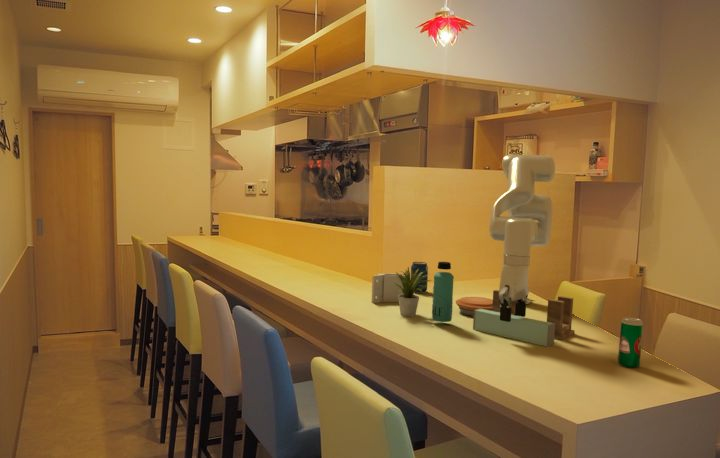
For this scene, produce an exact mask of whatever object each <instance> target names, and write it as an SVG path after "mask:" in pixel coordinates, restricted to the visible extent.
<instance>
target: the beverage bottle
mask: <svg viewBox="0 0 720 458" xmlns="http://www.w3.org/2000/svg"><path fill="white" fill-rule="evenodd" d="M451 265H452V264H451V262H450V261H438V263H437V269H439V270H451V269H452V266H451ZM432 289H433V290H432V305H431V318H432V320H433V321H435V322H441V323H445V322H446V323H449V322H452V318H453V305H454V304H453V295H454V275H453V274H452V272H448V271H437V272H436V273H435V274H434V275H433V286H432Z"/></svg>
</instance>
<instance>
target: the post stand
mask: <svg viewBox="0 0 720 458" xmlns="http://www.w3.org/2000/svg"><path fill="white" fill-rule="evenodd" d="M492 300H493V305H492V311H494V312H499V313H500V302H499V300H500V299H499V289H494V290H493V291H492ZM507 302H509V301H507ZM516 302H517V300H516V301H513V302H512V304H511V307H510V308H512V309H511V315H514V316H516V315H515V303H516ZM573 306H574V297H568V296H563V295H559V296H557V299H552V298H551V299H548V300H547V312H546V313H547V314H546V322H549V323H554V324H555V331H554V340H555V339H557V340H561V341H562V340H565V339H566V338H569V337H570V336H573V335H575V331H576V330H573V329H572V325H573V324H572V321H573V308H574V307H573Z"/></svg>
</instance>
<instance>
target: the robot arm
mask: <svg viewBox="0 0 720 458" xmlns="http://www.w3.org/2000/svg"><path fill="white" fill-rule="evenodd" d="M501 167H502V171H503V173H504V175H505V177H506V179H507V187H506V192H504V193H503V194H501V196H500V197H498V199H496V201H495V202H494V204H493V206H492V208H491V211H490V218H489V227H488V228H489V229H488V230H489V231H488V232H489V235H490V237H491V239H493V240H494V241H499V242H503V256H502V257H503V259H502V269H501V273H500V279H499V280H500V281H499V288H498V290H499V299H500V300H499V302H500V320H501V321H506V322H510V321H511V309H512V308H510V307H511V304H512V302H513V301H516V300H517V302H516V303H515V315H516V316H519V317H524V318H526V315H527V313H526V312H527V311H526V310H527V305H529V304H531V299H530V298H529V297H528V296H529V295H528V294H530V288H529V269H530V261H531V249H532V248H531V246H532V247H545V246H548V244H549V243H550V241H551V235H552V234H551V231H552V221H553V200H552V198H551V197H550V196H549V195H547V194H536V193H535V182H536V183H537V182H540V183H541V182H543V183H545V182H547V183H550V182H552V181H553V180H554V177H555V173H556V163H555V160H554V158H553V157H552V156H551V155H545V154H542V155H541V154H507V155H505V156H504V157H503V158H502V160H501ZM504 212H507V213H508V216H501V215H502V214H503V213H504ZM507 301H509V302H507Z"/></svg>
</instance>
